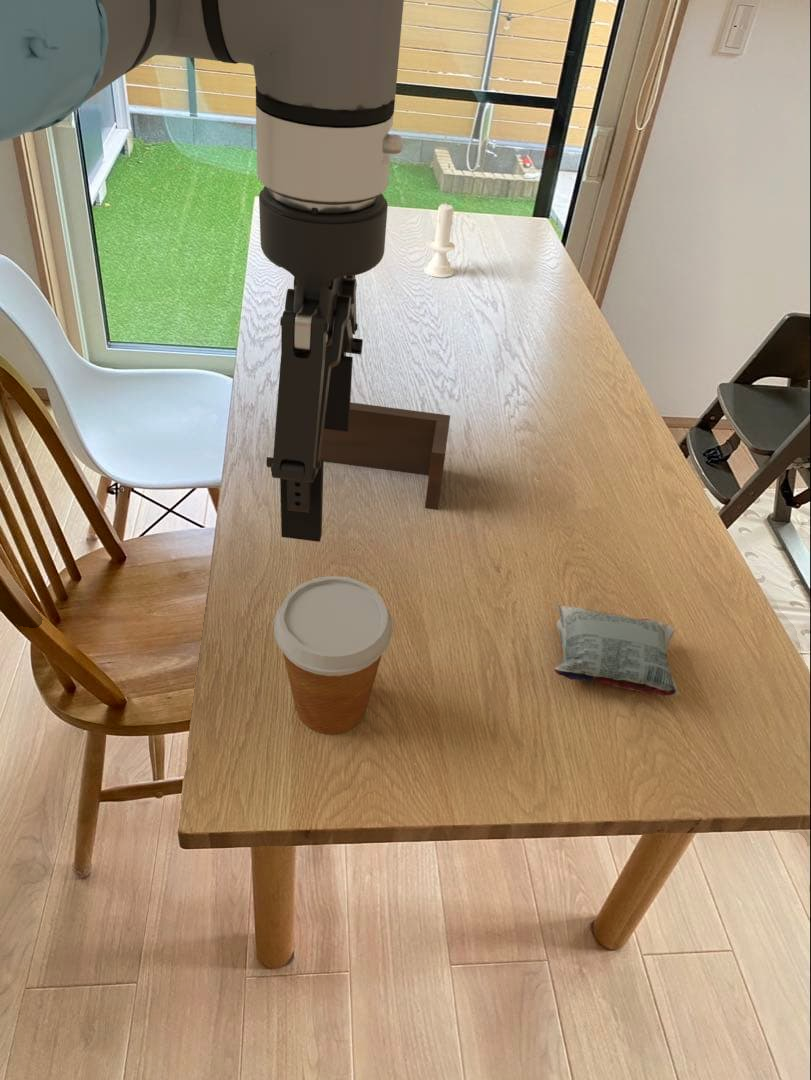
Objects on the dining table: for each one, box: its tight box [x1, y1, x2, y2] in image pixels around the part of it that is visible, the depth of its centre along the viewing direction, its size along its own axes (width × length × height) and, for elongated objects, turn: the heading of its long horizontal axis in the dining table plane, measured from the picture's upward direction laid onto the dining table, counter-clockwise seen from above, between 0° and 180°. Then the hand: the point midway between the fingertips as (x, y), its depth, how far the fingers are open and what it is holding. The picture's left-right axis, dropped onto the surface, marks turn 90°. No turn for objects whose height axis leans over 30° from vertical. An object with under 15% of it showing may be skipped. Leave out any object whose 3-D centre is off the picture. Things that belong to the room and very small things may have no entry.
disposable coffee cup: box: [273, 575, 394, 735], centre depth 66 cm, size 10×10×12 cm
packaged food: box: [552, 601, 681, 697], centre depth 74 cm, size 9×12×5 cm
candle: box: [423, 201, 456, 279], centre depth 136 cm, size 5×5×12 cm
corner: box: [320, 401, 451, 510], centre depth 92 cm, size 8×16×8 cm, turn 83°
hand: (318, 477), depth 60 cm, fingers open, 13 cm apart
